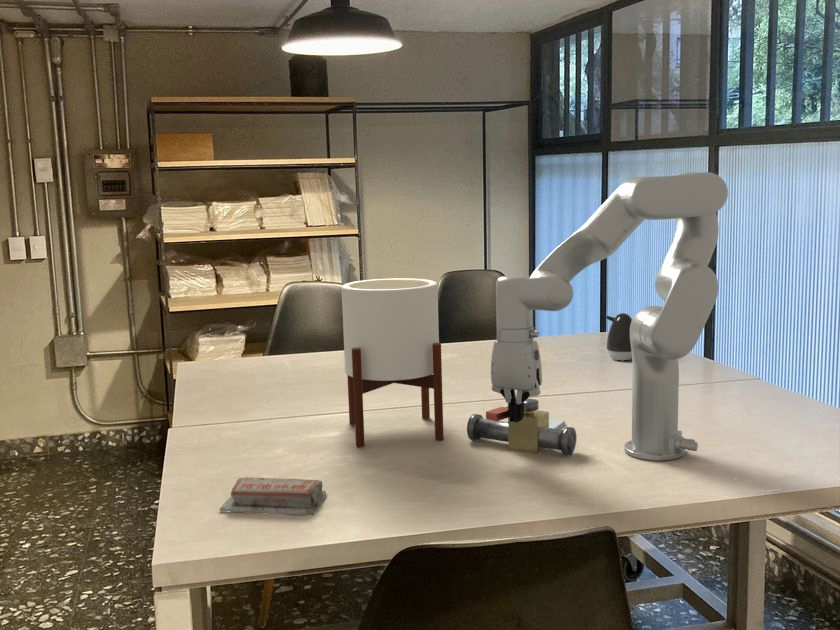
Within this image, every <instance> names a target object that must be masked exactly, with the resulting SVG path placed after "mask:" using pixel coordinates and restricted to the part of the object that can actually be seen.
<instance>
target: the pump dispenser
mask: <svg viewBox="0 0 840 630" xmlns="http://www.w3.org/2000/svg"><path fill="white" fill-rule="evenodd" d="M605 318H606V320H608V321H610V322H611V325H610V327H609V331H608V335H607V338H606V339H607V340H606V349H607V353H608V355H609V357H610V358H612V360H614V361H617V360H621V361H620V362H625V361H624V360H629V361H631V360H632V351H631V343H630V325H631V321H632V319H633V318H632V317H631V316H630V315H629V314H628V313H624V312H621V313H618V314H617V315H616V316H615V317H613V316H610V315H607V316H606V317H605Z"/></svg>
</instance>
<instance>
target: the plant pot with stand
mask: <svg viewBox="0 0 840 630" xmlns="http://www.w3.org/2000/svg"><path fill="white" fill-rule="evenodd" d="M438 289H439V287H438V283H437V282H436V281H435V280H431V279H427V278H426V279H425V278H410V277H409V278H407V277H406V278H405V277H404V278H402V277H401V278H400V277H399V278H398V277H395V278H375V279H364V280H356V281H352V282H351V281H350V282H347V283H344V284H343V285H342V286H341V305H342V307H341V308H342V330H343V351H344V352H343V353H344V372H345V375H347V397H348V400H347V401H348V415H349V416H348V420H349V422H348V423H349V425H350V424H355V425H354V433H355V434H354V435H355V447H356V446H357V447H356V448H364V447H365V445H366V444H365V443H366V442H365V424H364V423H365V422H364V421H365V420H364V419H365V418H364V401H363V399H364V398H363V397H364V394H366V393H369V392H372V391H375V390H378V389H380V388H384V387H386V386H389V385H391V384H392V385H393V384H396V385H397V384H399V385H404V386H405V385H406V386H412V387H418V388H419V387H420V395H421V399H420V400H421V419H422V420H430V419H431V415H430V414H431V413H430V411H431V410H430V389H433V407H434V409H433V410H434V411H433V412H434V440H435V441H439V442H440V441H444V409H443V406H444V404H443V371H442V369H443V367H442V366H443V365H442V363H443V362H442V342H440V336H439V335H440V330H439V328H440V326H439V299H438V298H439V297H438V295H439V294H438V292H439V291H438ZM363 446H364V447H363Z"/></svg>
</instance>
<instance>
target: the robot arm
mask: <svg viewBox="0 0 840 630" xmlns="http://www.w3.org/2000/svg"><path fill="white" fill-rule="evenodd" d="M728 194H729V190H728V186H727V183H726V181H725V180H724V179H723V178H722V177H721V176H720V175H719V174H716V173H714V172H710V171H709V172H707V171H706V172H705V171H704V172H703V171H700V172H695V171H694V172H693V171H692V172H683V173H680V174H678V175H664V176H632V177H630V178H627V179H625V180H624V181H623V182H622V183H621V184H620V185H618V186H617V188H616V189H615V190H614V191H613V192H612V193H611V194H610V195H609V197H607V199H606V200H605V201H604V202H603V203H602V204H601V205H600V207H598V209H597V210H596V211H595V212H594V213H593V214H592V215H591V216H590V217H589V218H588V219H587V220H586V221H585V223H584V224H582V226H581V227H580V228H579V229H576V231H574V232H573V233H572V234H571V235H570V236H569V237H568V238H566V239H565V241H563V242H561V244H559V245H558V246H556V248H555V249H554V250H553V251H551V252H550V253H549V254H548V255H547V256H546V258H545V259H543V261H542V262H541V263H540V264H539V265H538V266H537V267H536V268H535V270H534V271H533V272H532V273H531V275H530V276H528V275H524V274H523V275H522V274H521V275H520V274H507V275H502V276H500V277H498V278H497V279H496V282H495V305H496V307H495V309H496V312H495V313H496V314H495V315H496V340H494V342H493V347H492V351H491V361H490V381H491V384H492V385H491V390H492V392H496V393H497V394H500V395H501V396H502V397H503V398H504V400H505V402H506V403H507V406H508V416H509V417H510V422H516V423H517V422H519V421H521V420H522V419H523V417H524V401H526V399H530V398H531V397H532V398H533V397H538V396H539V395H540V394H541V389H540V386H542V383H543V371H542V369H543V368H542V361H541V354H540V349H539V344H538V341H537V340H535V338H539V337H540V332H539V331H538V330H535V327H534V311H542V312H543V311H544V312H559V311H562V310H564V309H566V308H567V307H568V306H569V305H570V304H571V303H572V301H573V298H574V290H573V289H574V288H573V286H572V284H571V281H572V280H574V278H575V277H576V276H578V274H580V273H581V272H582V271H583V270H585V269H586V268H588V267H589V266H591V265H593V264H595V263H598V262H601V261H603V260H605V259H606V258H609V257H610V256H612V255H613V254H615V252H616V251H618V249H619V248H620V247H621V246H622V245H623V243H625V242H626V240H627V239H628V238H629V237H630V236H631V235H632V234H633V233H634V231H635V230H636V229H638V227H639V226H640V225H641V224H643V222H644V221H645V220H647V221H649V220H650V221H658V220H675V219H676V220H675V221H676V229H675V234H674V236H673V239H672V242H671V245H670V246H669V249H668V251H667V253H666V256H665V257H664V259H663V262H662V264H661V266H660V268H659V270H658V272H657V275H656V277H655V282H654V287H655V288H654V289H655V293H656V294H657V295H658V297H660V298H661V299H662V300H663V301H664V303H663V305H662V306H658V305H649V306H648V305H647V306H645V307H644V308H641V309H640V310H638V311H637V312H636V313H635V314H634V316H633V317H632V318H631V319H632V321H631V325H630V343H631V351H632V382H631V383H632V385H631V386H632V395H631V397H632V401H631V404H632V408H631V418H632V419H631V440H629V441H627V442H626V443H624V452H625V453H626V454H627V455H629V456H631V457H634V458H637V459H639V460H646V461H647V460H648V461H671V460H676V459H679V458H681V457H683V456H685V454H686V450H687V451H691V452H697V451H698V447H699V444H698V442H697V441H696V440H695V439H694V438H693V439H692V438H684V436H682V435H683V431H682V430H679V391H680V389H679V386H680V385H679V384H680V368H679V367H680V366H679V365H680V364H679V360H680V359H682V358H684V357H686V356H687V355H689V354H690V353H691V352H692V350H693V349H694V348H695V346H696V344H697V342H698V341H699V339H700V337H701V334H702V332H703V330H704V328H705V325H706V323H707V321H708V319H709V318H710V315H711V314H712V310H713V309H714V306H715V303H716V302H717V299H718V296H719V295H718V294H719V280H718V277H717V275H716V274H715V272H714V270H713V269H712V268H711V267H710V266H709V264H710V261H711V259H712V257H713V253H714V252H715V249H716V246H717V243H718V239H719V230H720V228H719V221H718V216H717V213H718V212H719V211H720V210H721V209H722V208H723V207H724V206H725V204H726V202H727V200H728V196H729V195H728Z"/></svg>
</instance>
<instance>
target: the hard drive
mask: <svg viewBox="0 0 840 630" xmlns="http://www.w3.org/2000/svg"><path fill="white" fill-rule="evenodd" d="M565 426H566V421H565V420H562V419H557V418H556V419H555V418H549V428H553V429H560V430H561V429H562V428H563V427H565Z"/></svg>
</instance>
